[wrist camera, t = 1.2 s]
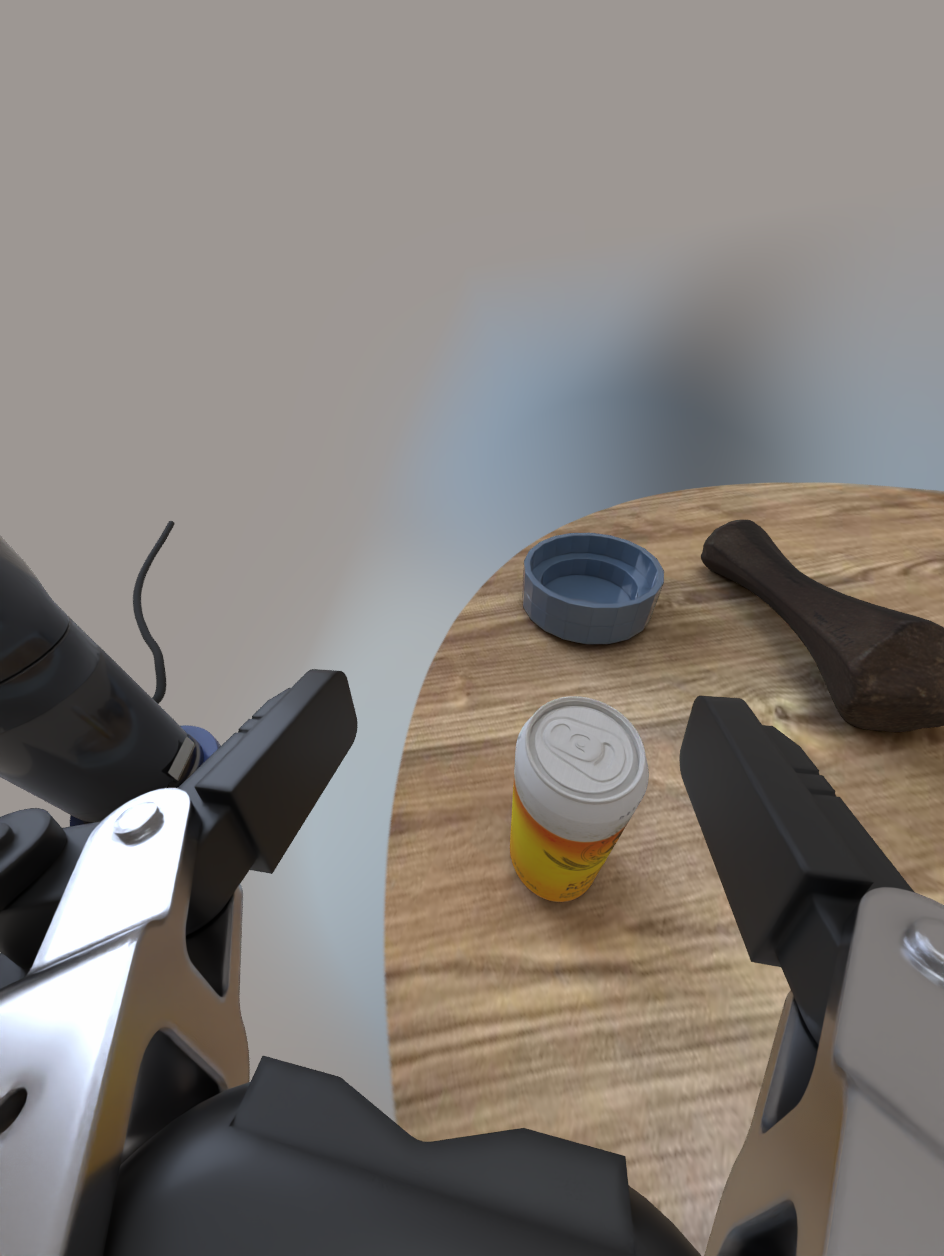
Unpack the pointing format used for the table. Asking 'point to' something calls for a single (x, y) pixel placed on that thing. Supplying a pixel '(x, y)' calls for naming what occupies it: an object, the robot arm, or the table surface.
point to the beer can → (573, 793)
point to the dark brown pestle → (842, 635)
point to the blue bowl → (591, 587)
